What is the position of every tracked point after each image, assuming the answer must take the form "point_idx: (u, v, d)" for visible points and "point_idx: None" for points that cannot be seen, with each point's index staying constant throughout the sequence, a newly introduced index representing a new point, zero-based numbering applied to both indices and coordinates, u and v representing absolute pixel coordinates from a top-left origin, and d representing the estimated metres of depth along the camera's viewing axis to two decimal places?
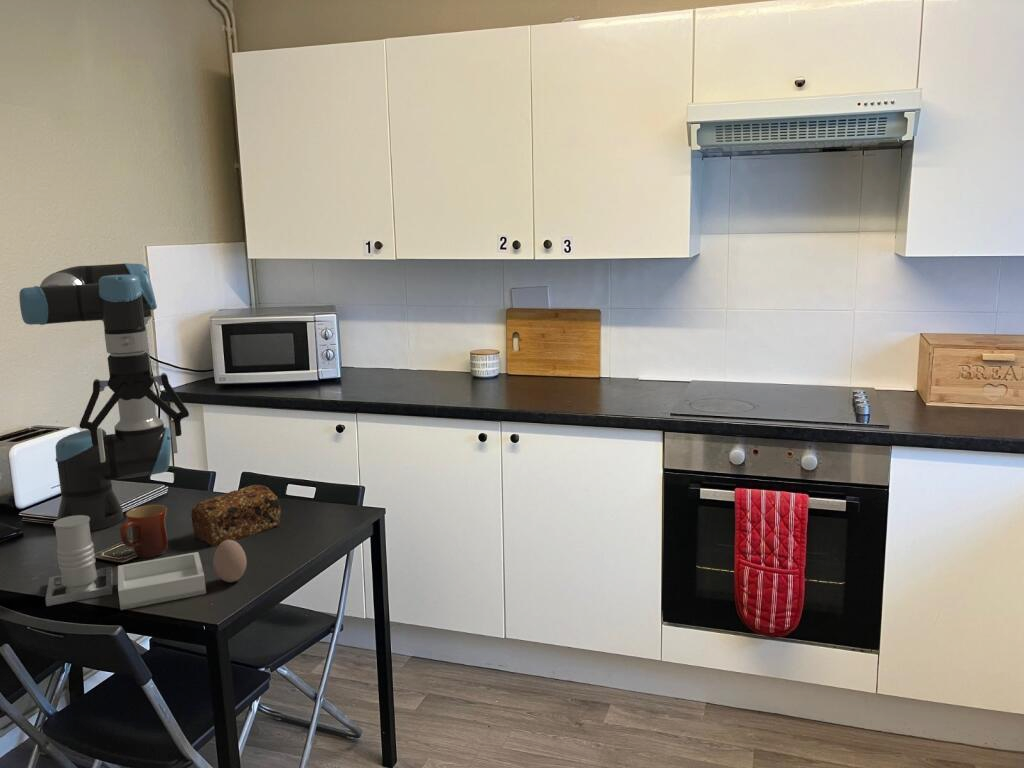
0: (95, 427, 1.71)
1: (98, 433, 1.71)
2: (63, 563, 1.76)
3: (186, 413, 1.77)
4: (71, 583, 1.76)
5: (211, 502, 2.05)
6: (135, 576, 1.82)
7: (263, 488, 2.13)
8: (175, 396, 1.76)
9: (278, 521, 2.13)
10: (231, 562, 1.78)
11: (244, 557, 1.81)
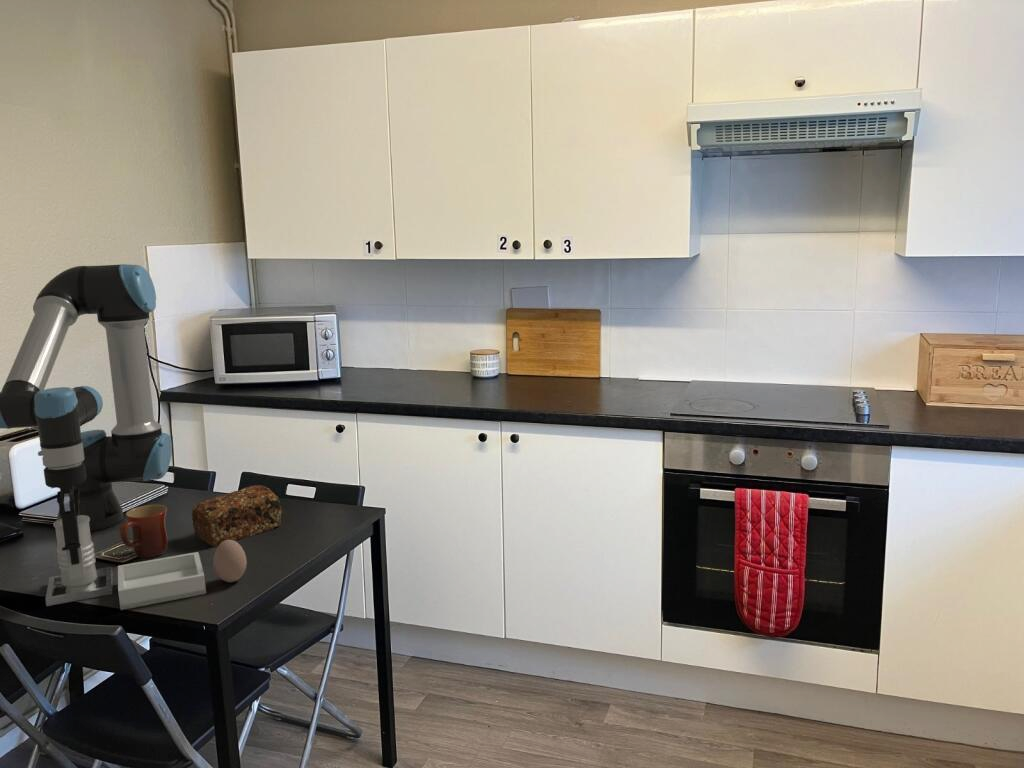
0: None
1: None
2: (63, 563, 1.76)
3: (65, 546, 1.71)
4: (71, 583, 1.76)
5: (212, 503, 2.04)
6: (135, 576, 1.82)
7: (264, 489, 2.13)
8: None
9: (279, 522, 2.13)
10: (231, 562, 1.78)
11: (244, 557, 1.81)
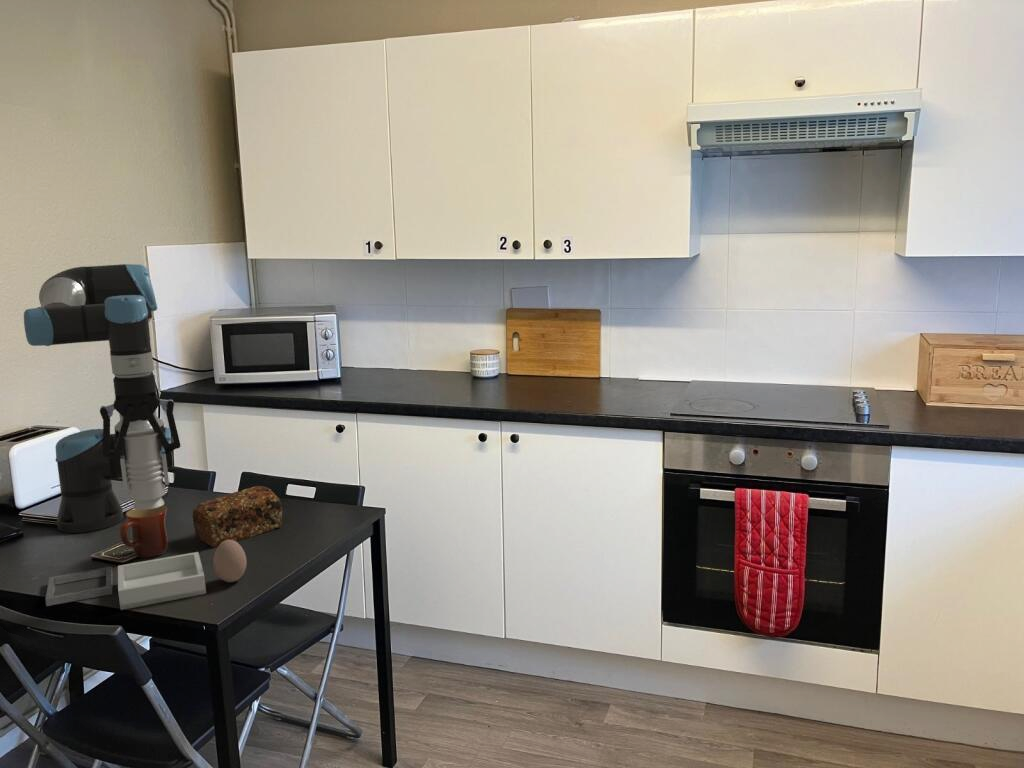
0: (118, 455, 1.71)
1: (121, 461, 1.71)
2: (158, 472, 1.73)
3: (178, 444, 1.75)
4: (163, 491, 1.75)
5: (212, 504, 2.04)
6: (135, 576, 1.82)
7: (265, 489, 2.12)
8: (174, 425, 1.74)
9: (280, 523, 2.12)
10: (231, 562, 1.78)
11: (244, 557, 1.81)
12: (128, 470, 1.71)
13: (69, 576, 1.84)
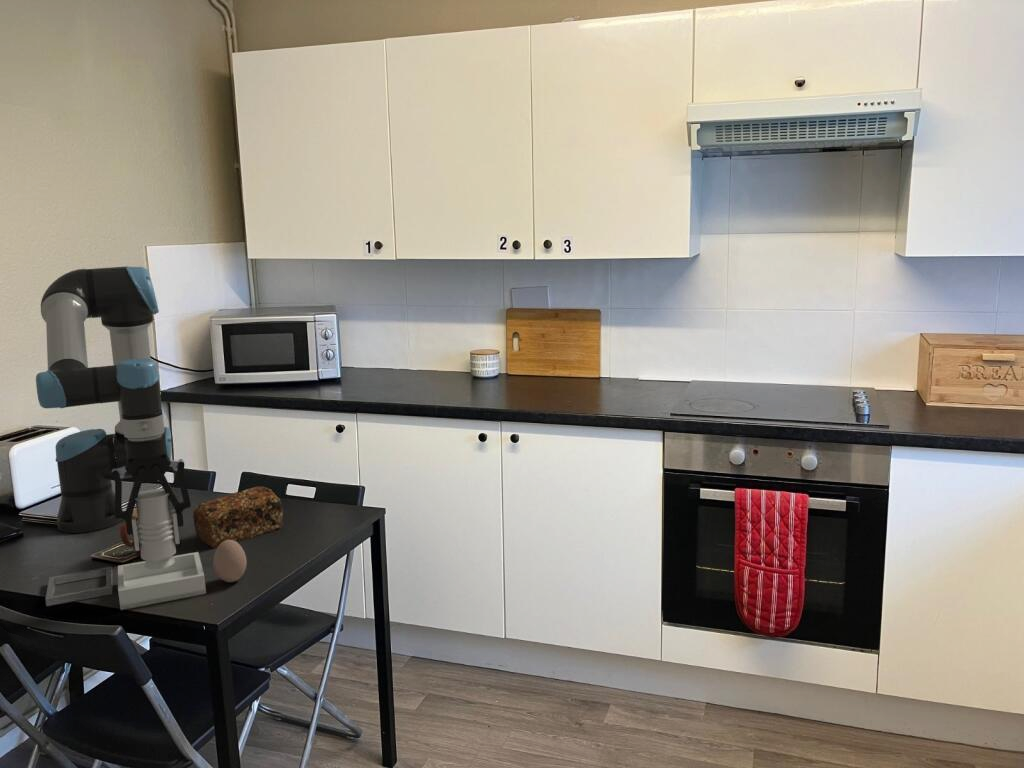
0: (130, 516, 1.73)
1: (133, 522, 1.73)
2: (169, 532, 1.76)
3: (188, 504, 1.77)
4: (174, 550, 1.78)
5: (213, 504, 2.04)
6: (135, 576, 1.82)
7: (266, 490, 2.12)
8: (184, 485, 1.77)
9: (280, 523, 2.12)
10: (231, 562, 1.78)
11: (244, 557, 1.81)
12: (139, 531, 1.74)
13: (69, 576, 1.84)
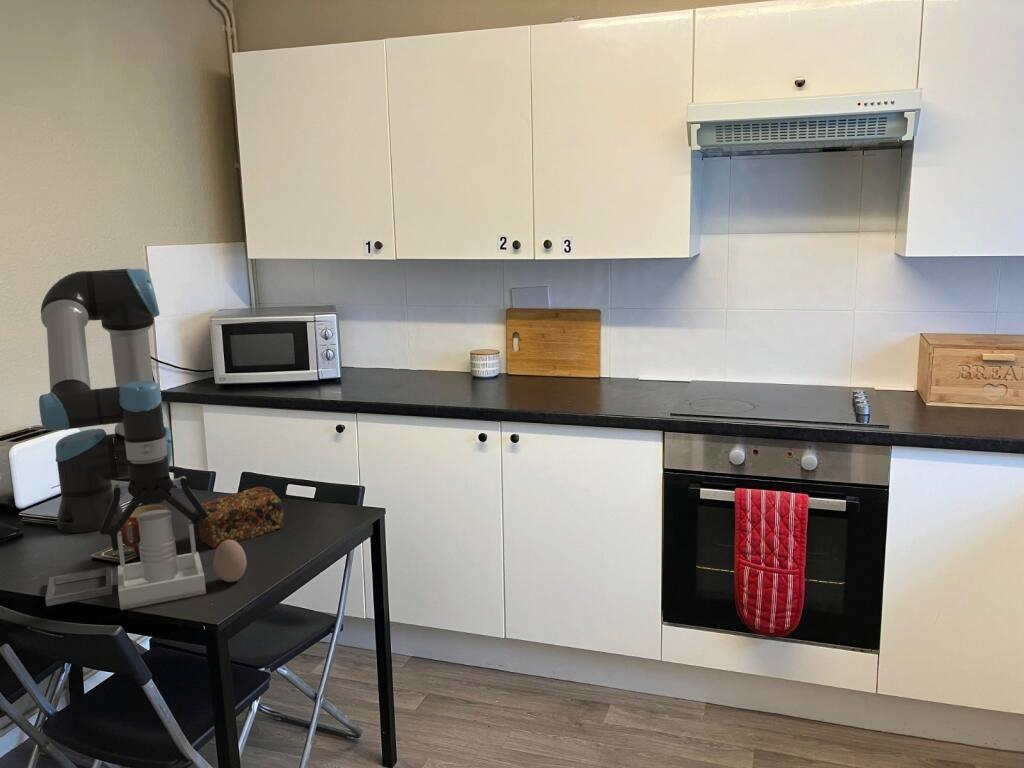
0: (115, 533, 1.73)
1: (118, 538, 1.73)
2: (171, 553, 1.77)
3: (205, 514, 1.79)
4: (176, 571, 1.79)
5: (213, 504, 2.03)
6: (135, 576, 1.82)
7: (266, 490, 2.11)
8: (194, 498, 1.78)
9: (281, 524, 2.11)
10: (231, 562, 1.78)
11: (244, 557, 1.81)
12: (142, 552, 1.75)
13: (69, 576, 1.84)
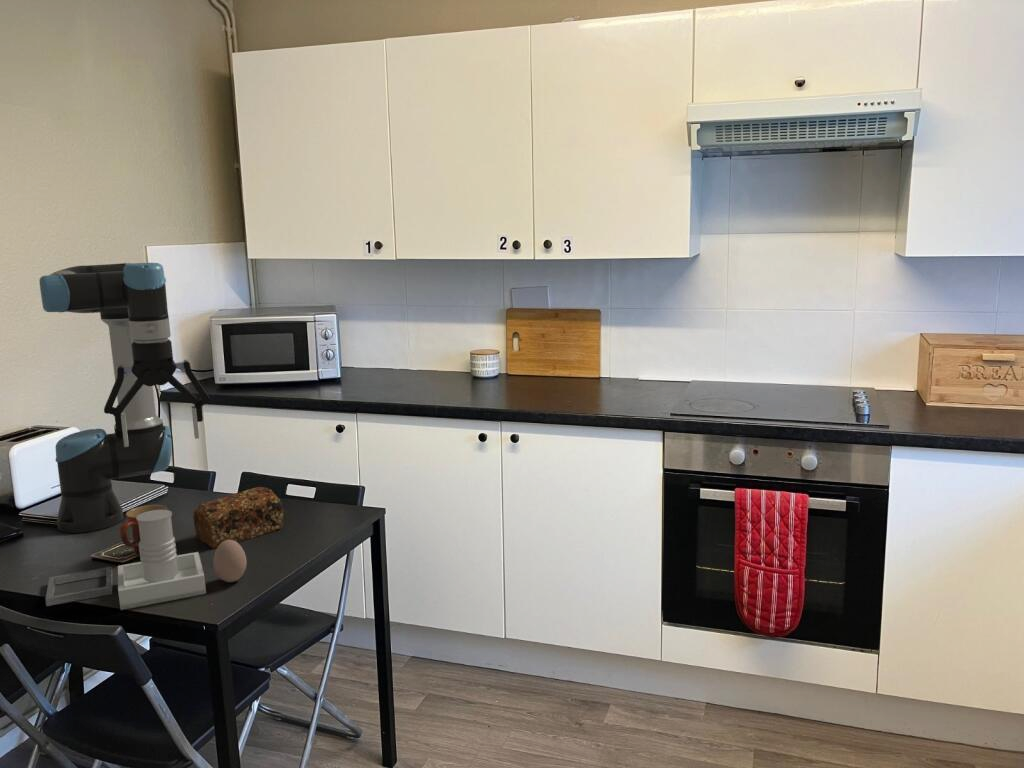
0: (119, 412, 1.74)
1: (122, 418, 1.74)
2: (171, 553, 1.77)
3: (207, 399, 1.80)
4: (176, 571, 1.79)
5: (213, 505, 2.03)
6: (135, 576, 1.82)
7: (266, 491, 2.11)
8: (197, 382, 1.79)
9: (281, 524, 2.11)
10: (231, 562, 1.78)
11: (244, 557, 1.81)
12: (142, 552, 1.75)
13: (69, 576, 1.84)
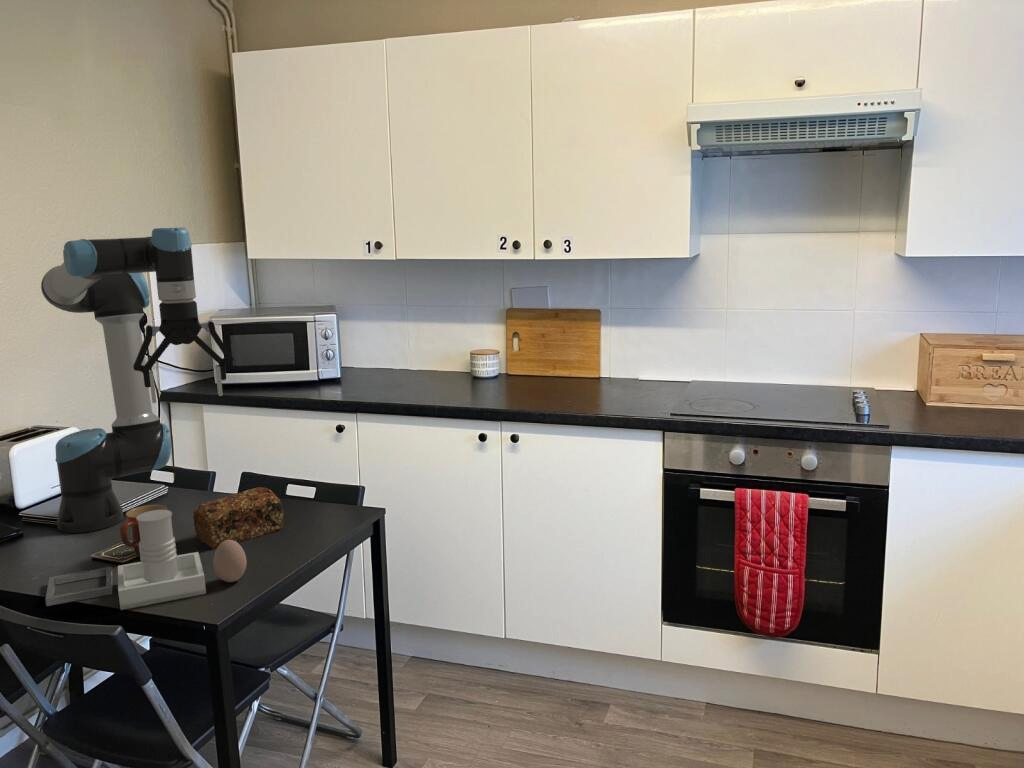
0: (148, 369, 1.83)
1: (150, 375, 1.83)
2: (171, 553, 1.77)
3: (231, 358, 1.90)
4: (176, 571, 1.79)
5: (213, 505, 2.03)
6: (135, 576, 1.82)
7: (266, 491, 2.11)
8: (221, 342, 1.88)
9: (281, 524, 2.11)
10: (231, 562, 1.78)
11: (244, 557, 1.81)
12: (142, 552, 1.75)
13: (69, 576, 1.84)
